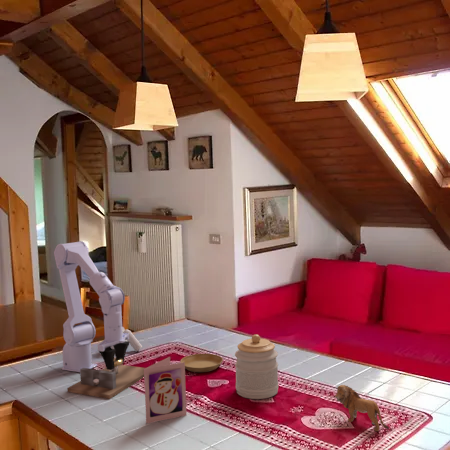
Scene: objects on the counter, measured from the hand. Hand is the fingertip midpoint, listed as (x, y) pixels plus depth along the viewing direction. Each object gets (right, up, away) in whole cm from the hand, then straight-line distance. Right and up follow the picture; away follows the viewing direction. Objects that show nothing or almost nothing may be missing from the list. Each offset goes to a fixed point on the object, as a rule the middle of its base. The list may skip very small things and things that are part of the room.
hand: (115, 366), depth 183 cm
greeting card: (+19, -7, -28) cm, 35 cm away
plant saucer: (+28, -3, +11) cm, 30 cm away
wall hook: (-1, -2, +31) cm, 31 cm away
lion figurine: (+71, -6, -36) cm, 80 cm away
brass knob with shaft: (-2, -3, -3) cm, 5 cm away
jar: (+46, -5, -13) cm, 48 cm away
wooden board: (-1, -5, -2) cm, 5 cm away
